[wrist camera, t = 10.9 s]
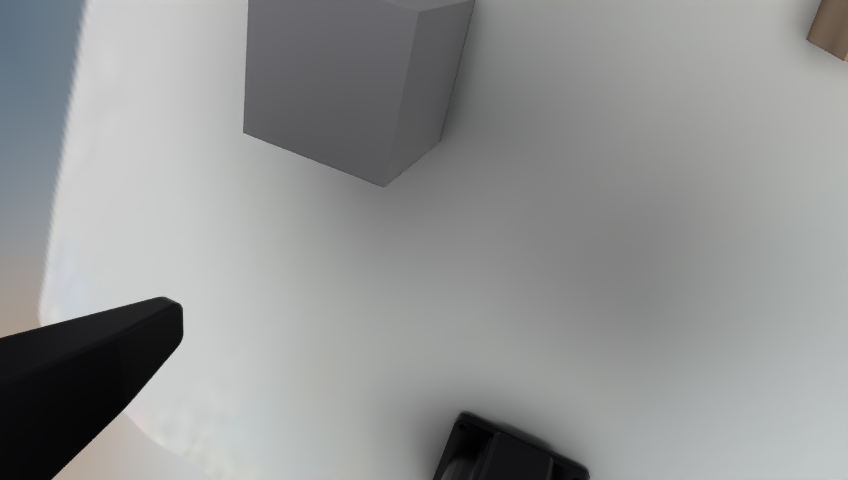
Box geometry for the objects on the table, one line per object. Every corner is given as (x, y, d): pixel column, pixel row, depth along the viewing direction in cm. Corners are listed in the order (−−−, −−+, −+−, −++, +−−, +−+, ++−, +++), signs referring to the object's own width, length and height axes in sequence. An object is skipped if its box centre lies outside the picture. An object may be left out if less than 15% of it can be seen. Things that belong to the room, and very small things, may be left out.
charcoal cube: (440, 140, 20) (384, 187, 16) (324, 98, 21) (243, 132, 17) (475, -1, 18) (419, 12, 13) (341, -41, 19) (250, -41, 14)
